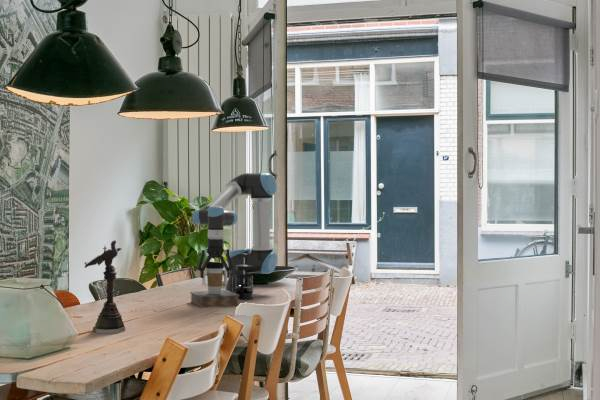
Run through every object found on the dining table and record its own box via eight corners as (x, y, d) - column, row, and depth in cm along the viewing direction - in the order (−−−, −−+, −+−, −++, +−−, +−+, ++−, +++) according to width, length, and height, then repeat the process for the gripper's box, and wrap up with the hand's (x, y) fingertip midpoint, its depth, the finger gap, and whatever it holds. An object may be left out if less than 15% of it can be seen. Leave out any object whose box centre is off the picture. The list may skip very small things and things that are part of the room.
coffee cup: (208, 291, 353) (208, 261, 353) (225, 292, 353) (225, 261, 352) (204, 294, 345) (204, 262, 345) (221, 294, 344) (221, 263, 344)
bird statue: (73, 332, 270) (74, 239, 270) (90, 326, 283) (92, 237, 283) (114, 335, 267) (115, 240, 266) (130, 329, 279) (131, 238, 279)
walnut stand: (227, 300, 361) (227, 290, 361) (239, 305, 344) (239, 295, 344) (189, 301, 354) (190, 291, 354) (200, 307, 336) (201, 296, 336)
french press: (255, 297, 372) (256, 253, 372) (252, 300, 363) (252, 254, 363) (233, 296, 374) (234, 252, 374) (229, 299, 365) (229, 253, 365)
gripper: (194, 239, 341) (193, 286, 341) (240, 238, 350) (239, 284, 350) (190, 238, 348) (189, 284, 348) (235, 237, 357) (234, 282, 357)
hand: (214, 284), depth 349 cm, fingers open, 10 cm apart
